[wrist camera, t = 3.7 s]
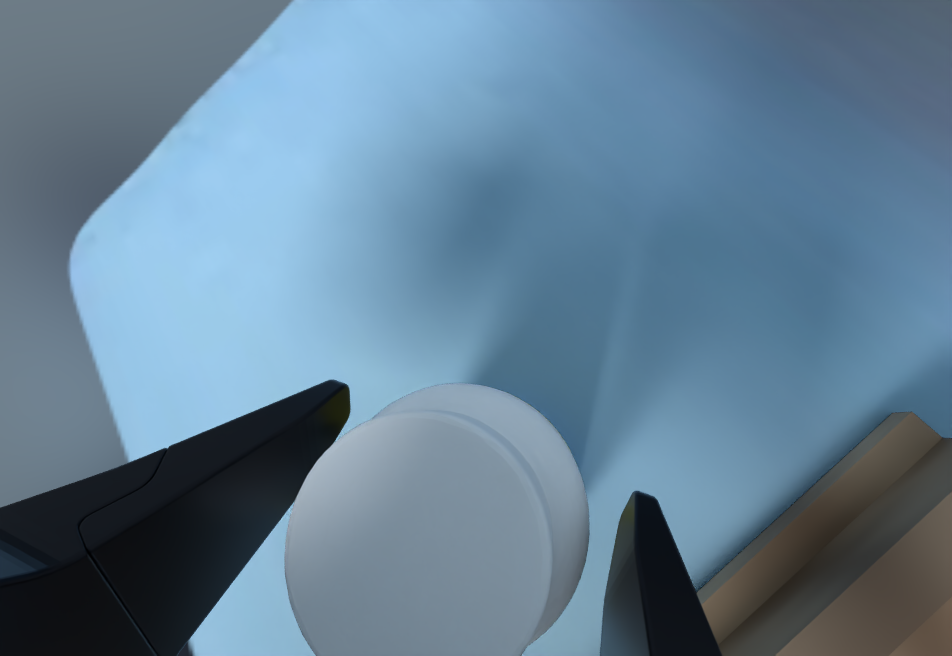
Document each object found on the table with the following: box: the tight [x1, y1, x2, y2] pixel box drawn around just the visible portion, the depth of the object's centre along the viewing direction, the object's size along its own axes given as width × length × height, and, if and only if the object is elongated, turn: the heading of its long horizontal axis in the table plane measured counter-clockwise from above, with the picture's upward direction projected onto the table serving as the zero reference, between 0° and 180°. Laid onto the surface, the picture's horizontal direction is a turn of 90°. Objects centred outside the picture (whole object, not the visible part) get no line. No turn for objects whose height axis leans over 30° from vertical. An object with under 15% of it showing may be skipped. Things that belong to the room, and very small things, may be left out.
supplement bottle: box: [285, 383, 589, 656], centre depth 11 cm, size 5×5×10 cm
